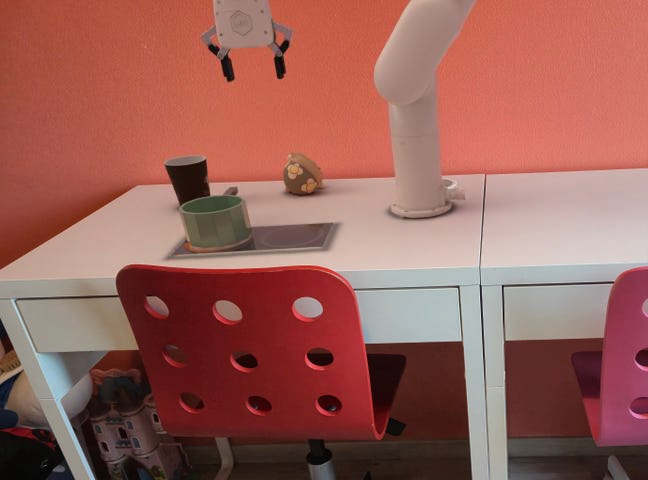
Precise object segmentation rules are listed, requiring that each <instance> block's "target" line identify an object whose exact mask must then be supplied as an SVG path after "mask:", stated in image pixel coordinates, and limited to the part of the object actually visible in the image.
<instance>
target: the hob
mask: <svg viewBox="0 0 648 480" xmlns="http://www.w3.org/2000/svg"><path fill="white" fill-rule="evenodd" d="M333 224H334V222H323V223H322V222H321V223H320V222H319V223H304V224H303V223H301V224H286V225H285V224H284V225H269V226H267V225H266V226H251V229H252V233H251V234H252V237H251V239H250V240H248V241H247V242H245V243H243V244H241V245H238V246H235V247H231V248H227V249H222V250H212V251H203V250H196V249H193V248H191V247H190V246H189V243H188V241H187V238H186V237H185V238H184V240H182V241H181V243H179V244H178V246H177V247H176V248H174V249H173V250H172V252H171V253H170V254H169V255H168V256H167V257H168V258H170V257H171V256H181V255H199V254H200V255H201V254H217V253H218V254H219V253H235V252H252V251H253V252H254V251H270V250H271V251H273V250H288V249H289V250H291V249H306V248H307V249H308V248H309V249H310V248H323V247H324V244H325V242H326V240H327V238H328V236H329V233H330V231H331V229H332V226H333Z"/></svg>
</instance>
